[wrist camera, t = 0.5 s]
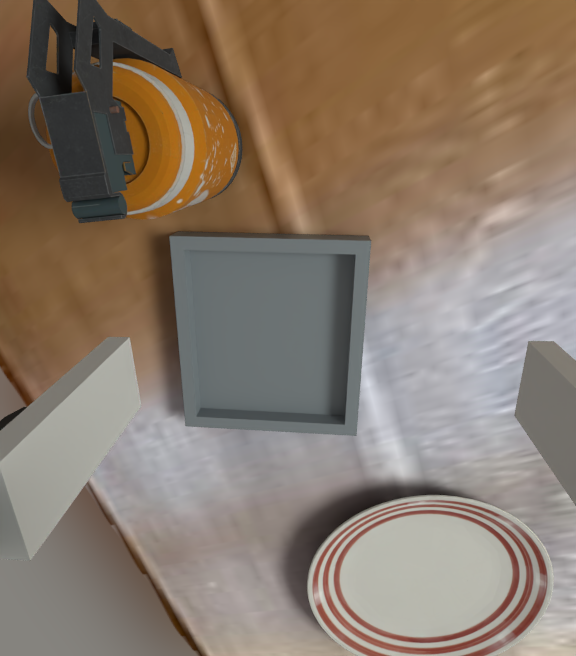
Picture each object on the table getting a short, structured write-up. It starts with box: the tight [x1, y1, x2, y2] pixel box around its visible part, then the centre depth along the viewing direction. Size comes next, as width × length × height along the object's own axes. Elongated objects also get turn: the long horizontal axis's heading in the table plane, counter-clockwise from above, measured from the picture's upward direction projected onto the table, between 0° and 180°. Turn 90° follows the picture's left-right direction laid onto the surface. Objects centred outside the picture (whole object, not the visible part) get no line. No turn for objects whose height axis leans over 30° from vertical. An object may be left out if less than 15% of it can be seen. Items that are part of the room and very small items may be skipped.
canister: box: [27, 0, 242, 223], centre depth 29 cm, size 9×11×20 cm
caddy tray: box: [169, 231, 371, 436], centre depth 43 cm, size 19×17×2 cm
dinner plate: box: [307, 495, 554, 656], centre depth 53 cm, size 28×27×3 cm
